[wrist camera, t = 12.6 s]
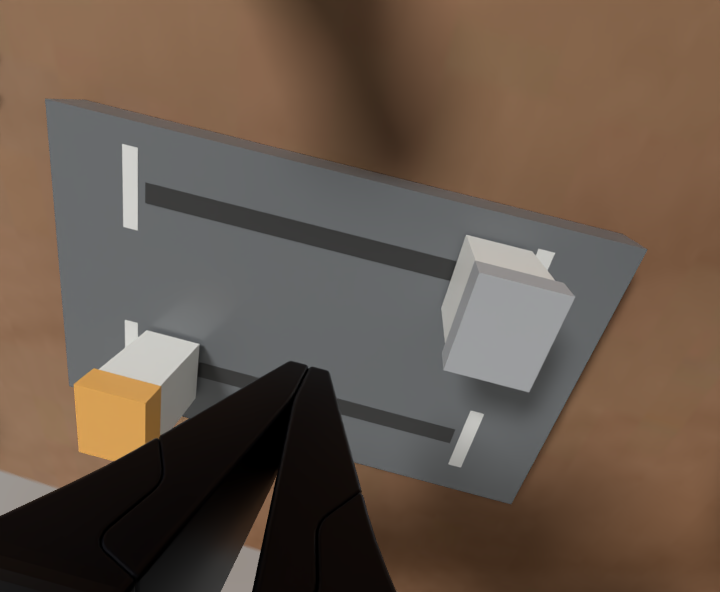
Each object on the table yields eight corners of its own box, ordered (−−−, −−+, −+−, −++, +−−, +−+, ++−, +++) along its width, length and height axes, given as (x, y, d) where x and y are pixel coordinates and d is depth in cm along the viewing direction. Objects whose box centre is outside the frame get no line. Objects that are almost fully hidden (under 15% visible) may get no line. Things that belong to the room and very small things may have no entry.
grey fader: (536, 249, 15) (575, 297, 11) (503, 326, 16) (529, 392, 13) (464, 231, 15) (479, 272, 11) (437, 309, 17) (443, 370, 13)
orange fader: (201, 342, 19) (145, 403, 15) (197, 400, 20) (145, 469, 16) (144, 327, 19) (73, 384, 15) (144, 386, 20) (78, 451, 16)
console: (622, 234, 17) (647, 249, 15) (503, 471, 22) (511, 504, 20) (84, 99, 17) (44, 98, 15) (97, 363, 23) (69, 386, 21)
